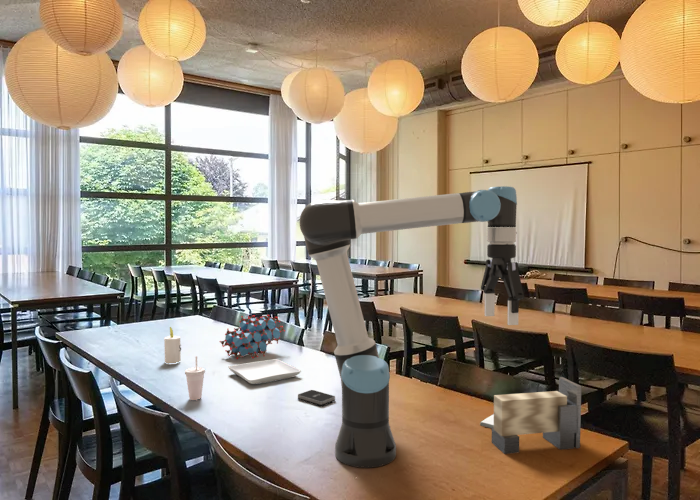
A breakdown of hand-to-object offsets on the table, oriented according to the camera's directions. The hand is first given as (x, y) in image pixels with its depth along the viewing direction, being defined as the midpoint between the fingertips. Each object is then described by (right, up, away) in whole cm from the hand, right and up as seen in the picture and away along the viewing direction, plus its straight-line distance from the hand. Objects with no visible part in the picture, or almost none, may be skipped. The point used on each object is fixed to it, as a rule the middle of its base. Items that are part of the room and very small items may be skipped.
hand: (500, 320), depth 142 cm
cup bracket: (+13, -31, -7) cm, 34 cm away
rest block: (-2, -31, -10) cm, 33 cm away
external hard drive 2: (+3, -31, +7) cm, 32 cm away
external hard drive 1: (-53, -30, +26) cm, 66 cm away
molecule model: (-84, -27, +85) cm, 123 cm away
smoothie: (-93, -30, +27) cm, 101 cm away
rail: (+5, -27, -9) cm, 29 cm away
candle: (-116, -28, +73) cm, 139 cm away
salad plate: (-74, -29, +53) cm, 96 cm away
